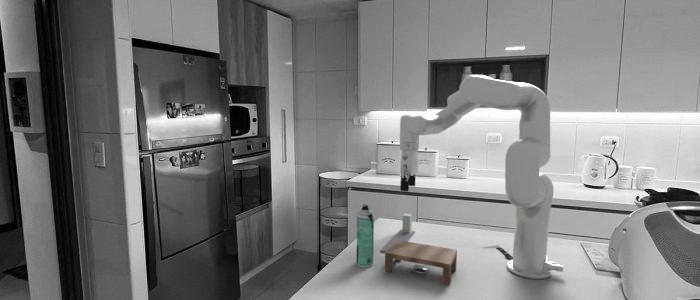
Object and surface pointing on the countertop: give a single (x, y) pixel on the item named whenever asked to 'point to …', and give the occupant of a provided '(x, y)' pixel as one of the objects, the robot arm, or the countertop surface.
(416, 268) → the disc
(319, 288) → the countertop surface
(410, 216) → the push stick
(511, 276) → the countertop surface
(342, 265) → the countertop surface
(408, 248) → the walnut bench
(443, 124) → the robot arm
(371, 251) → the spray can
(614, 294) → the countertop surface
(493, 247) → the cleaver
